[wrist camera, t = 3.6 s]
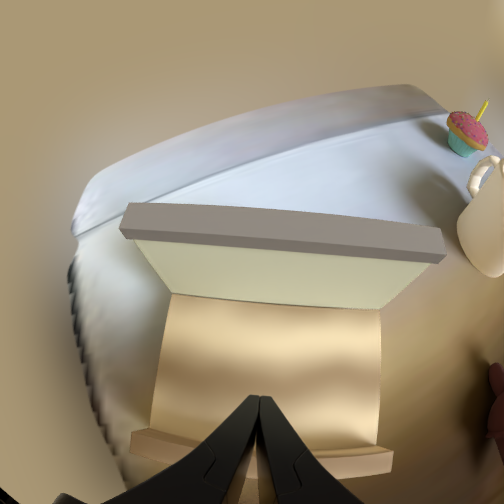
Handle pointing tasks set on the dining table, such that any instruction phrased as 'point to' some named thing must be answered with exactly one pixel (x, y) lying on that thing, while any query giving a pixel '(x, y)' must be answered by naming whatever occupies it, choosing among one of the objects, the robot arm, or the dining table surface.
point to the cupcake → (466, 132)
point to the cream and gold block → (269, 379)
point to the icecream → (497, 407)
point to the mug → (484, 219)
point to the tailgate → (281, 253)
